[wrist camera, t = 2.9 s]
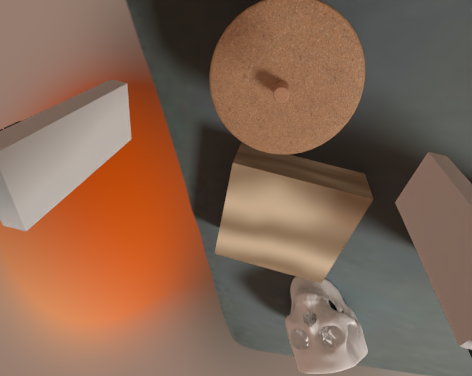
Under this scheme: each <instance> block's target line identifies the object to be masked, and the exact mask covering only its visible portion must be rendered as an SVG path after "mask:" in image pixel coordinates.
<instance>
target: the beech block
mask: <svg viewBox="0 0 472 376" xmlns="http://www.w3.org/2000/svg"><path fill="white" fill-rule="evenodd" d="M372 201H373V196H372V193H371V190H370V187H369V184H368V181H367V178H366V175H365V174H364V173H360V172H356V171H352V170H348V169H344V168H340V167H336V166H332V165H328V164H325V163H321V162H317V161H313V160H309V159H305V158H301V157H297V156H293V155H289V154H285V155H279V154H270V153H266V152H262V151H259V150H256V149H254V148H252V147H250V146H248V145H246V144H245V143H242V142H241V144H240V146H239V149H238V151H237V154H236V156H235V158H234V161H233V164H232V169H231V174H230V179H229V184H228V189H227V194H226V199H225V204H224V209H223V214H222V219H221V224H220V229H219V234H218V239H217V244H216V249H215V254H218V255H222V256H225V257H229V258H232V259H236V260H240V261H243V262H247V263H250V264H254V265H257V266H261V267H265V268H268V269H272V270H275V271H279V272H282V273H286V274H290V275H293V276H297V277H300V278H304V279H308V280H311V281H315V282H318V283H322V282H323V280H324V278H325V277H326V275H327V273H328V272H329V270H330V269H331V267H332V265H333V264H334V262H335V261H336V259H337V257H338V256H339V254H340V253H341V251H342V249H343V248H344V246H345V244H346V243H347V241H348V240H349V238H350V236H351V235H352V233H353V232H354V230H355V228H356V227H357V225H358V223H359V222H360V220H361V219H362V217H363V215H364V214H365V212H366V211H367V209H368V207H369V206H370V204H371V203H372Z"/></svg>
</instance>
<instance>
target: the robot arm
mask: <svg viewBox="0 0 472 376" xmlns="http://www.w3.org/2000/svg"><path fill="white" fill-rule="evenodd" d="M127 89H128V88H127V83H124V82H119V81H115V80H109V81H107V82H104V83H102V84H100V85H98V86H96V87H94V88H91V89H89V90H87V91H85V92H83V93H81V94H79V95H76V96H74V97H72V98H70V99H68V100H66V101H64V102H62V103H59V104H57V105H55V106H53V107H51V108H49V109H47V110H44V111H42V112H40V113H38V114H36V115H34V116H31V117H29V118H27V119H25V120H23V121H19V122H16V123H14V124H12V125H10V126H7V127H5V128H4V130H3V129H1V130H0V220H1V222H2V224H3V225H4V226H7V227H12V228H15V229H19V230H22V231H27V230H28V229H29V228H30V227H32V226H33V225H34V224H35V223H36V222H37V221H38V220H40V219H41V218H42V217H43V216H44V215H45V214H46V213H48V212H49V211H50V210H51V209H52V208H53V207H54V206H56V205H57V204H58V203H59V202H60V201H61V200H62V199H64V198H65V197H66V196H67V195H68V194H69V193H70V192H72V191H73V190H74V189H75V188H76V187H77V186H78V185H79V184H81V183H82V182H83V181H84V180H85V179H86V178H88V177H89V176H90V175H91V174H92V173H93V172H94V171H95V170H96V169H98V168H99V167H100V166H101V165H102V164H103V163H105V162H106V161H107V160H108V159H109V158H110V157H112V156H113V155H114V154H115V153H116V152H117V151H118V150H119V149H121V148H122V147H123V146H124V145H125V144H126V143H128V142H129V141H130V140H131V129H130V115H129V103H128V102H129V101H128V90H127ZM395 203H396V206H397V208H398V210H399V212H400V215H401V217H402V219H403V221H404V224H405V226H406V228H407V230H408V233H409V235H410V237H411V239H412V241H413V244H414V246H415V248H416V250H417V253H418V255H419V257H420V259H421V262H422V264H423V266H424V268H425V271H426V273H427V275H428V277H429V279H430V282H431V284H432V286H433V288H434V291H435V293H436V295H437V297H438V300H439V302H440V304H441V306H442V309H443V311H444V313H445V315H446V317H447V320H448V322H449V324H450V326H451V329H452V331H453V333H454V335H455V338H456V340H457V342H458V344H459V346H460V347H463V348H467V349H471V350H472V184H471V183H470V181H469V180H468V179H467V178H466V177H465V176H464V175H463V174H462V172H461V171H460V170H459V169H458V168H457V167H456V166H455V165H454V163H453V162H452V161H451V160H450V159H449V158H448V157H447V156H444V155H440V154H436V153H431V152H428V153H427V154H426V156H425V158H424V159H423V161H422V162H421V164H420V165H419V167H418V168H417V170H416V171H415V173H414V174H413V176H412V177H411V179H410V180H409V182H408V183H407V185H406V186H405V188H404V189H403V191H402V193H401V194H400V196H399V197H398V199H397V200H396V202H395Z"/></svg>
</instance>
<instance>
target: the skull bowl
mask: <svg viewBox="0 0 472 376" xmlns="http://www.w3.org/2000/svg"><path fill="white" fill-rule="evenodd" d="M290 295H291V301H292V305H291V312H290V315H288V316H287V317H286V319H285V325H286V329H287V333H288V337H289V341H290V345H291V347H292V350H293V353H294V356H295V361H296V366H297V369H298V371H300V372H303V373H307V374H324V373H333V372H339V371H342V370H345V369H348V368H351V367H353V366H355V365H356V364H357V363H358V362H359V361H360V360H362V359H363V358H364V357H365V356H366V354H367V353H368V349H367V346H366V342H365V339H364V335H363V331H362V327H361V325H360V323H359V321H358V319H357V317H356V316H355V314H354V313H353V311H352V310H351V309H350V307H347V306H346V304H345V303H344V301H343V299H342V297H341V295H340V293H339V291H338V289H337V288H336V287H334V286H333V285H332V283H331V282H330V281H328V280H327V279H325V278H324V280H323V282H322V283H318V282H315V281H311V280H308V279H304V278H300V277H297V276H296V277H295V278H294V279H293V281H292V283H291V287H290ZM328 299H329V300H330V301H331V302H332V303H333V304H334V305H335V307H336V308H337V310H338V311H336V310H334V309H332V308H331V307H330V305H329V302H328ZM342 310H344V311H342ZM335 345H336V346H335Z"/></svg>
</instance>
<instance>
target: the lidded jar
mask: <svg viewBox="0 0 472 376" xmlns="http://www.w3.org/2000/svg"><path fill="white" fill-rule="evenodd" d="M209 78H210V91H211V97H212V101H213V104H214V107H215V109H216V111H217V113H218V116H219V118H220V119H221V121H222V122H223V124H224V125H225V127H226V128H227V129H228V130H229V131H230V132H231V133H232V134H233V135H234V136H235V137H236V138H237V139H239V140H240V141H241V142H243V143H245V144H246V145H248V146H250V147H252V148H254V149H256V150H259V151H262V152H266V153H270V154H279V155H285V154H296V153H301V152H305V151H308V150H311V149H313V148H316V147H318V146H320V145H322V144H323V143H325V142H327V141H328V140H330V139H331V138H332V137H334V136H335V135H336V134H337V133H338V132H339V131H340V130H341V129H342V128H343V127H344V126H345V125H346V124H347V123H348V121H349V120H350V118H351V117H352V115H353V114H354V112H355V110H356V108H357V106H358V104H359V101H360V99H361V95H362V92H363V88H364V82H365V59H364V54H363V49H362V46H361V43H360V41H359V38H358V36H357V34H356V32H355V31H354V29H353V28H352V26H351V24H350V23H349V22H348V21H347V20H346V19H345V18H344V17H343V15H342V14H341V13H340V12H338V11H337V10H336V9H334V8H333V7H331V6H330V5H329V4H327V3H324V2H322V1H320V0H262V1H259V2H258V3H256V4H254V5H252V6H250V7H249V8H247V9H246V10H244V11H243V12H242V13H241V14H239V15H238V16H237V17H236V18H235V19H234V20H233V21H232V22H231V23H230V24H229V25H228V27H227V28H226V29H225V31H224V33H223V34H222V36H221V37H220V39H219V41H218V43H217V45H216V48H215V50H214V53H213V57H212V60H211V66H210V74H209Z"/></svg>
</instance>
